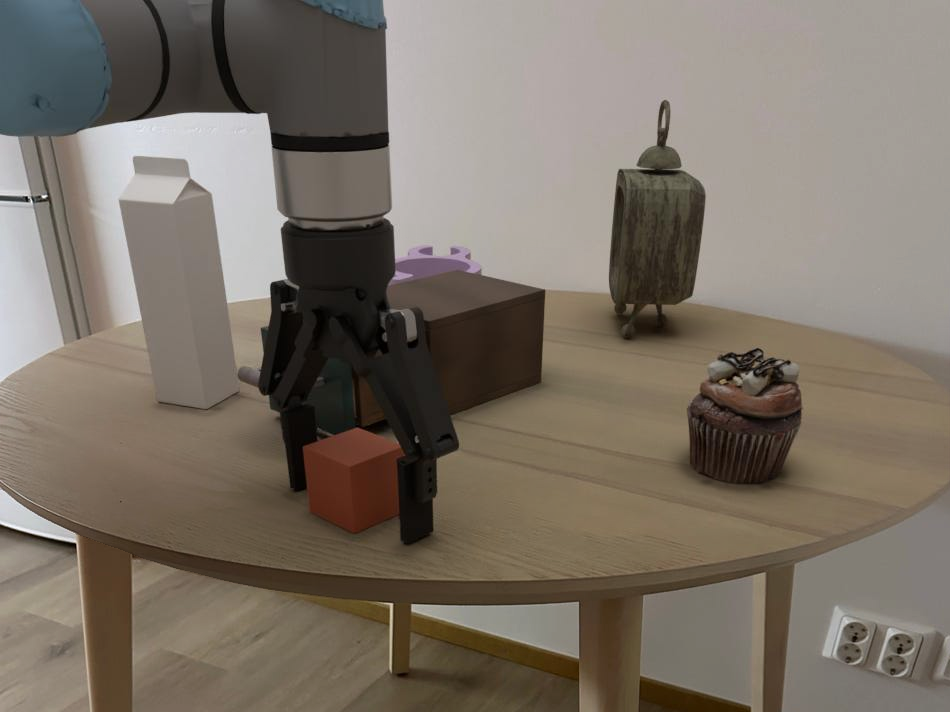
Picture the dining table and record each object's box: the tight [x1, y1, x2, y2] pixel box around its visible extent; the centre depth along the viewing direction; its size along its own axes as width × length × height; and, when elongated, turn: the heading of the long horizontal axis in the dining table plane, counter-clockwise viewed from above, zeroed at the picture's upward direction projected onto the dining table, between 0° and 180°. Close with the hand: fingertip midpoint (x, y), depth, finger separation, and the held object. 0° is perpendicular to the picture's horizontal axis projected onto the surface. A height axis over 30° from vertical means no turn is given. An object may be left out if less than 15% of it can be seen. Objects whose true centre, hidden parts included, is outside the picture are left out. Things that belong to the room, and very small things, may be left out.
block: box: [303, 427, 405, 534], centre depth 72 cm, size 6×6×6 cm
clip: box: [388, 244, 483, 286], centre depth 118 cm, size 20×12×7 cm, turn 176°
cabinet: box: [386, 270, 546, 416], centre depth 95 cm, size 17×13×10 cm
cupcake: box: [686, 347, 804, 485], centre depth 79 cm, size 10×10×10 cm
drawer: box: [237, 325, 386, 436], centre depth 88 cm, size 20×11×8 cm, turn 137°
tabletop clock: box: [608, 99, 707, 339], centre depth 111 cm, size 14×9×25 cm, turn 178°
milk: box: [118, 155, 240, 410], centre depth 89 cm, size 6×6×22 cm
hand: (358, 509), depth 73 cm, fingers open, 13 cm apart
